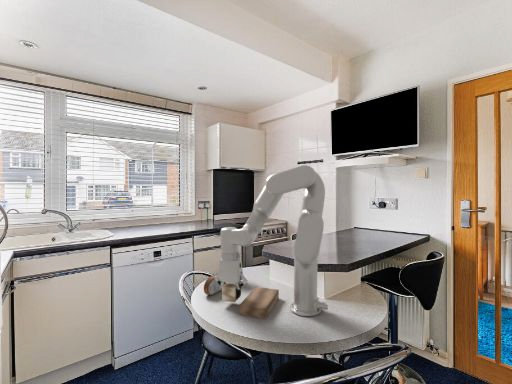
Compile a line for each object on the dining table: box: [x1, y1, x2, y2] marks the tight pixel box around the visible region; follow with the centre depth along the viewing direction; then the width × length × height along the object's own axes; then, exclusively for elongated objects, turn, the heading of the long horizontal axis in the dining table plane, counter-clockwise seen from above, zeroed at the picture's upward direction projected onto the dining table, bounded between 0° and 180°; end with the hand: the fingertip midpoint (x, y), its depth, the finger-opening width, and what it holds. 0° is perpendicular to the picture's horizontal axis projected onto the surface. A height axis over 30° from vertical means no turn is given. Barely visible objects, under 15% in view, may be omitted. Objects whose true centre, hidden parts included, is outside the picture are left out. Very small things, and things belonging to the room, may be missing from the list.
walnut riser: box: [238, 286, 280, 320], centre depth 123 cm, size 11×20×4 cm, turn 160°
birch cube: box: [221, 282, 240, 303], centre depth 124 cm, size 6×6×6 cm
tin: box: [203, 272, 221, 296], centre depth 137 cm, size 15×3×8 cm, turn 149°
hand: (231, 296), depth 124 cm, fingers closed on birch cube, 6 cm apart
